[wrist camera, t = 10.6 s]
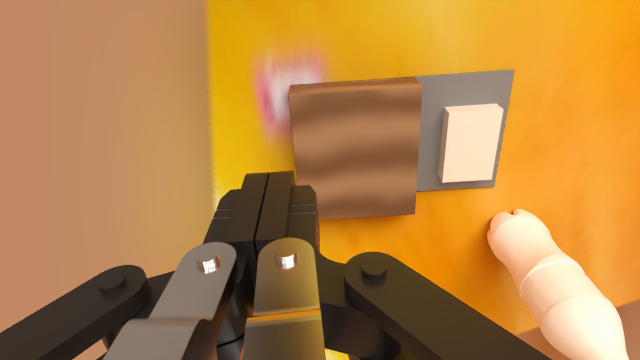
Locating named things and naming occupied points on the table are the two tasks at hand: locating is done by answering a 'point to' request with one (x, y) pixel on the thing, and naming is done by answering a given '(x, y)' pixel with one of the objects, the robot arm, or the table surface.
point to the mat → (447, 94)
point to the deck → (358, 145)
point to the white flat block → (469, 142)
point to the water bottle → (556, 290)
